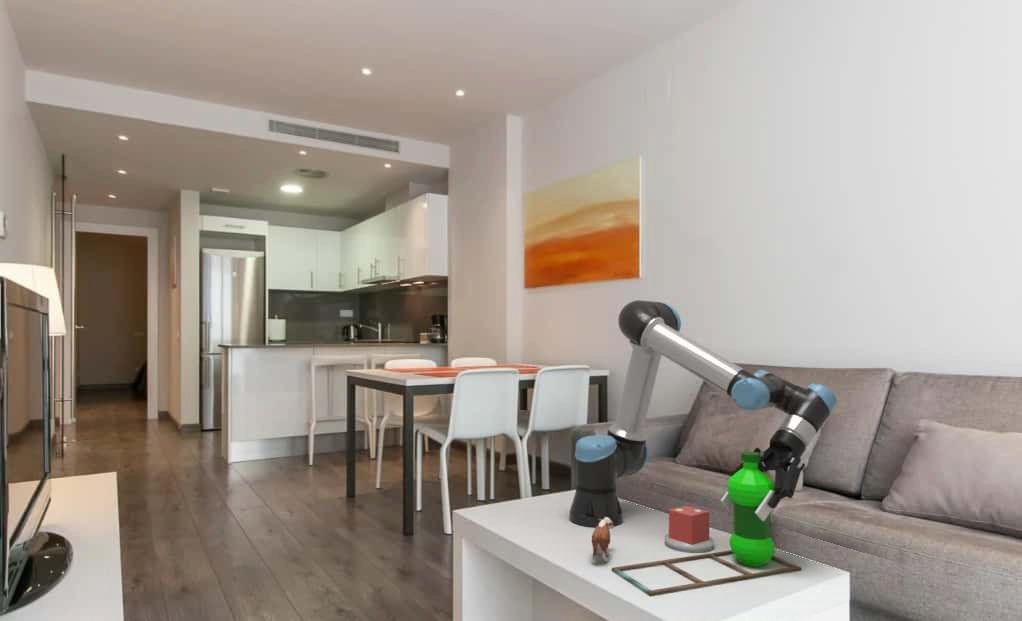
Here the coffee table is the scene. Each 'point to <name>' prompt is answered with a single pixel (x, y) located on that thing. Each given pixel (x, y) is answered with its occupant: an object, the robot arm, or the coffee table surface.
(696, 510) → the red die stand
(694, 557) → the walnut frame
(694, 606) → the coffee table surface
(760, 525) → the plastic bottle
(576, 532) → the coffee table surface
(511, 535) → the coffee table surface
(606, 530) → the bull figurine
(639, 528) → the coffee table surface
